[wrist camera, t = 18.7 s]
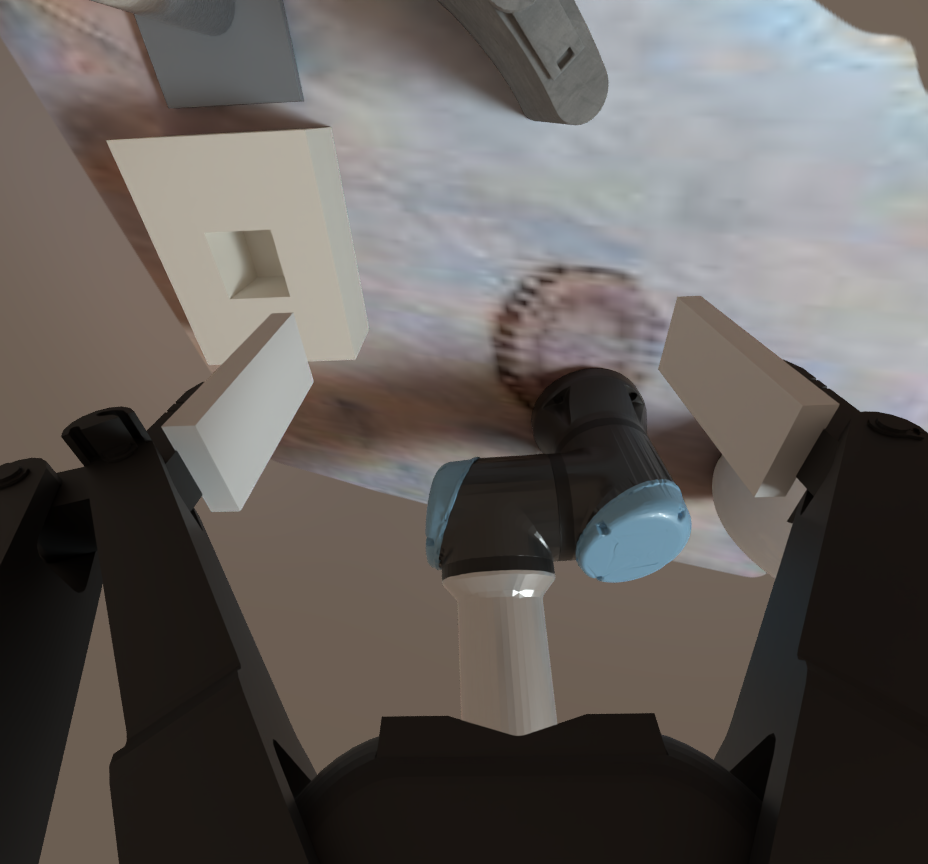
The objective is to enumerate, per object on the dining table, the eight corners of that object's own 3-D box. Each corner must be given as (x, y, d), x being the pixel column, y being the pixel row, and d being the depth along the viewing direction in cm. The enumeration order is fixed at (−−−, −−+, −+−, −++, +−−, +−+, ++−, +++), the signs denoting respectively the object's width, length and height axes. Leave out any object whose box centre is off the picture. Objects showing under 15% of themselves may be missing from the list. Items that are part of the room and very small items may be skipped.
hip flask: (400, -37, 33) (340, -177, 17) (433, -97, 31) (400, -315, 15) (537, 129, 40) (585, 140, 24) (571, 88, 38) (648, 69, 22)
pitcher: (676, 495, 69) (778, 678, 46) (727, 409, 58) (887, 591, 36) (815, 507, 70) (977, 690, 48) (887, 425, 60) (1135, 609, 38)
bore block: (369, 329, 51) (355, 359, 45) (240, 334, 52) (208, 365, 46) (331, 127, 39) (305, 129, 33) (163, 136, 40) (106, 140, 34)
